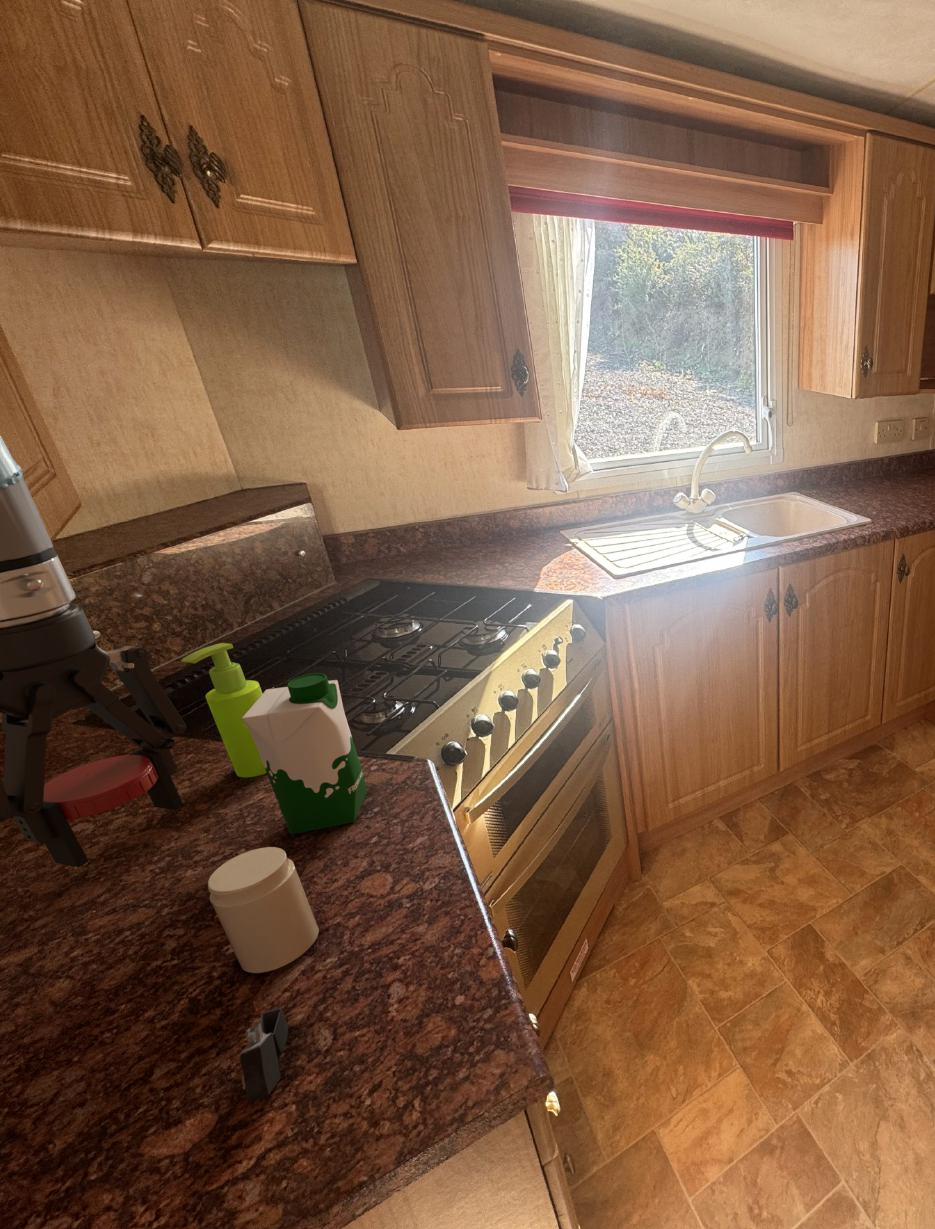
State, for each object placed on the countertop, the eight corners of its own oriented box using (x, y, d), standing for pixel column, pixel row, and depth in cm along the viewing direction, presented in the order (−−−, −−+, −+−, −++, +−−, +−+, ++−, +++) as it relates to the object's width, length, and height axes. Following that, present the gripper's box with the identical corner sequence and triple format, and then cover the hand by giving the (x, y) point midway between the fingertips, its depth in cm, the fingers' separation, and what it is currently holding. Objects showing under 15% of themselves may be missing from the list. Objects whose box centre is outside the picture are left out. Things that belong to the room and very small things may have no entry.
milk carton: (360, 825, 85) (318, 693, 78) (278, 841, 82) (225, 706, 75) (376, 786, 93) (339, 662, 85) (301, 799, 90) (256, 673, 82)
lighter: (266, 1070, 59) (256, 1012, 59) (294, 1058, 60) (284, 1001, 60) (237, 1108, 52) (225, 1043, 52) (269, 1094, 53) (258, 1030, 53)
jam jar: (233, 948, 68) (197, 870, 64) (309, 910, 72) (280, 835, 68) (248, 985, 64) (211, 905, 60) (327, 942, 68) (297, 865, 64)
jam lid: (162, 792, 61) (155, 775, 60) (45, 832, 56) (36, 814, 55) (153, 761, 65) (146, 745, 64) (44, 795, 60) (35, 778, 59)
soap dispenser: (218, 778, 94) (167, 655, 87) (265, 752, 100) (222, 635, 93) (249, 784, 93) (200, 660, 85) (295, 757, 99) (254, 640, 92)
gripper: (-142, 673, 44) (14, 922, 52) (182, 578, 62) (258, 775, 71) (-219, 662, 45) (-54, 907, 54) (120, 573, 63) (202, 767, 72)
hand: (123, 832), depth 62 cm, fingers closed on jam lid, 7 cm apart
